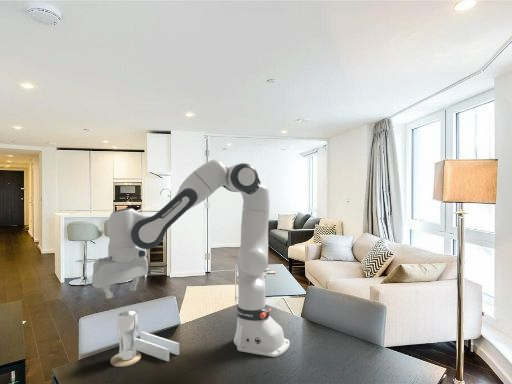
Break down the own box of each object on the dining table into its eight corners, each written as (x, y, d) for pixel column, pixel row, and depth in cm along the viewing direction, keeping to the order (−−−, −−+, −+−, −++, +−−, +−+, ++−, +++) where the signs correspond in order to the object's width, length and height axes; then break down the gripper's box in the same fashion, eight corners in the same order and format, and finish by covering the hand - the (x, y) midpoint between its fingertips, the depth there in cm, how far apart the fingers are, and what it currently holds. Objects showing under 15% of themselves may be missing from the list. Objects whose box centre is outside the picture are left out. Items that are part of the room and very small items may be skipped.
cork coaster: (147, 356, 109) (147, 355, 109) (123, 369, 100) (123, 368, 100) (128, 349, 113) (128, 348, 113) (104, 361, 105) (104, 360, 105)
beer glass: (129, 361, 103) (129, 316, 104) (112, 359, 105) (112, 315, 106) (142, 352, 110) (142, 310, 111) (125, 351, 112) (126, 309, 113)
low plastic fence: (179, 354, 110) (179, 343, 110) (167, 361, 105) (167, 349, 105) (141, 341, 120) (142, 331, 120) (129, 347, 115) (129, 337, 115)
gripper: (99, 260, 95) (99, 304, 95) (150, 250, 113) (150, 287, 112) (87, 258, 98) (87, 301, 98) (139, 249, 116) (139, 285, 116)
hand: (121, 293), depth 105 cm, fingers open, 8 cm apart
